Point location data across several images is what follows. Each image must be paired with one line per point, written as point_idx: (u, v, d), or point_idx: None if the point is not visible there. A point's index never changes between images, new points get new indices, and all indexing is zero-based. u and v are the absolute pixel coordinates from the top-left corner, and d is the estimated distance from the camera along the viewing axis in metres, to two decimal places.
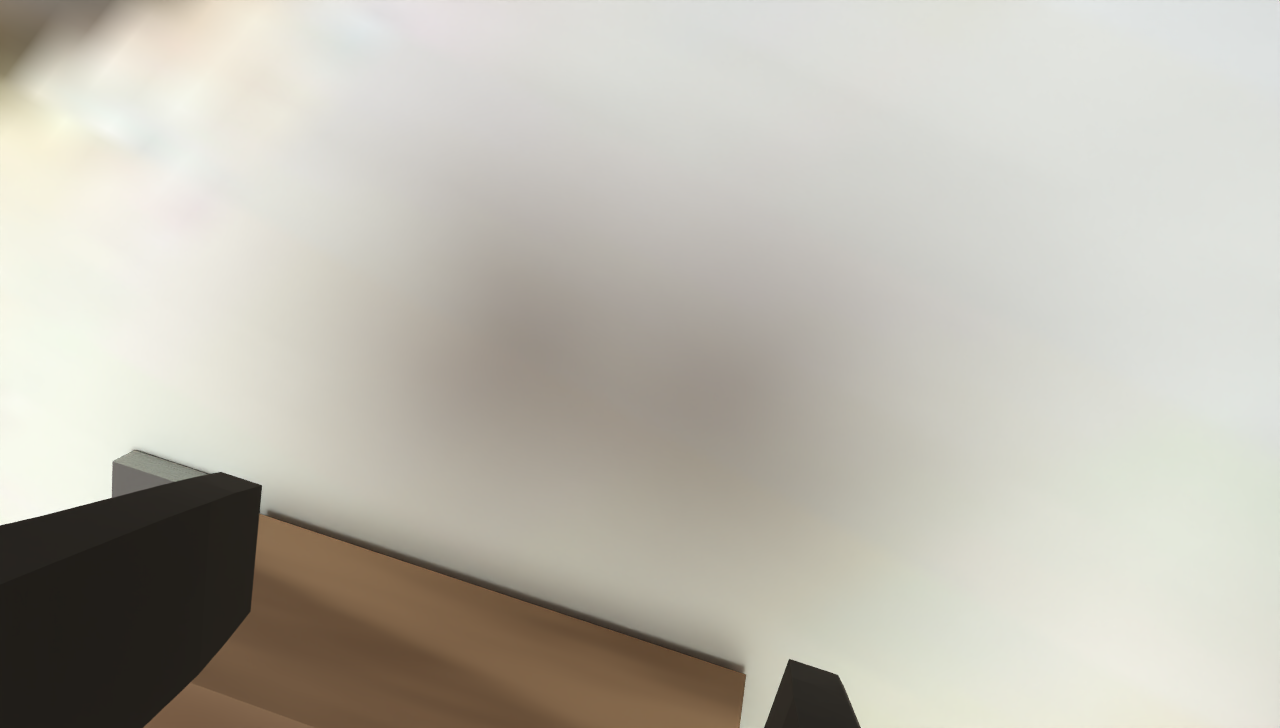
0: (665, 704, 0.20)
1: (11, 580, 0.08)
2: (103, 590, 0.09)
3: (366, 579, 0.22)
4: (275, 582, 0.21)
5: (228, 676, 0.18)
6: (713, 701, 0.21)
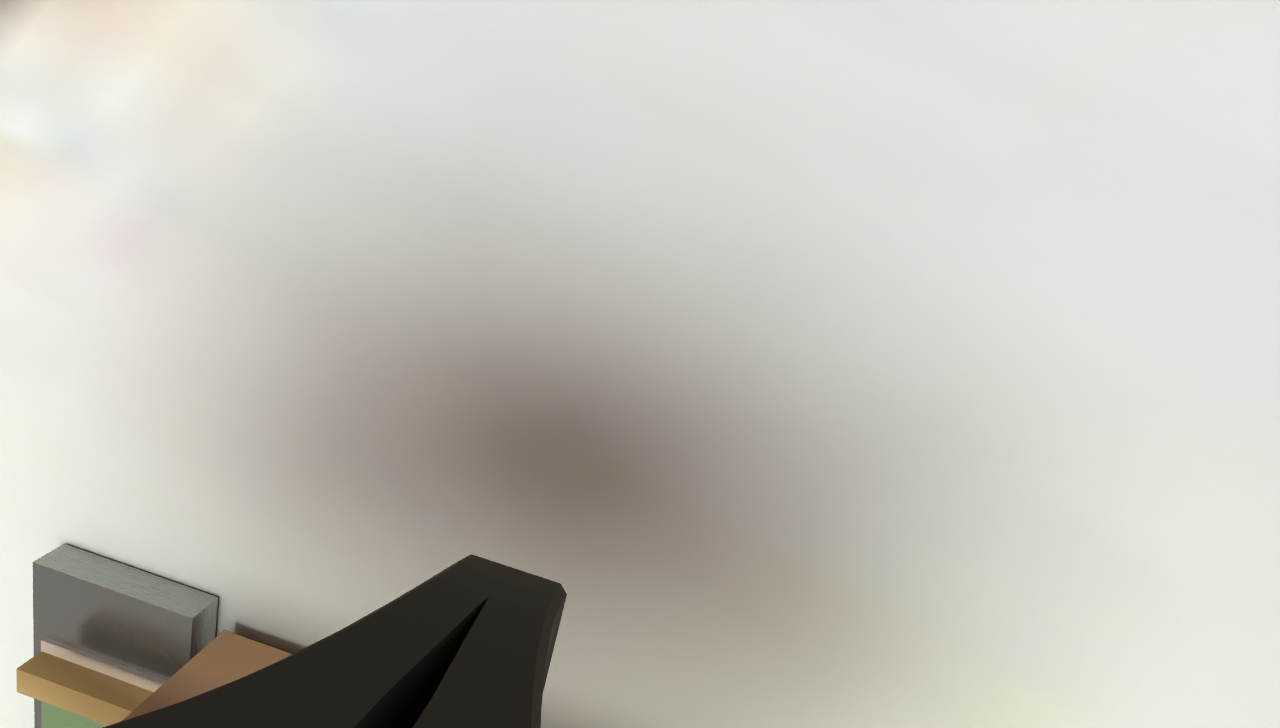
0: None
1: (369, 708, 0.07)
2: (418, 701, 0.08)
3: None
4: None
5: None
6: None
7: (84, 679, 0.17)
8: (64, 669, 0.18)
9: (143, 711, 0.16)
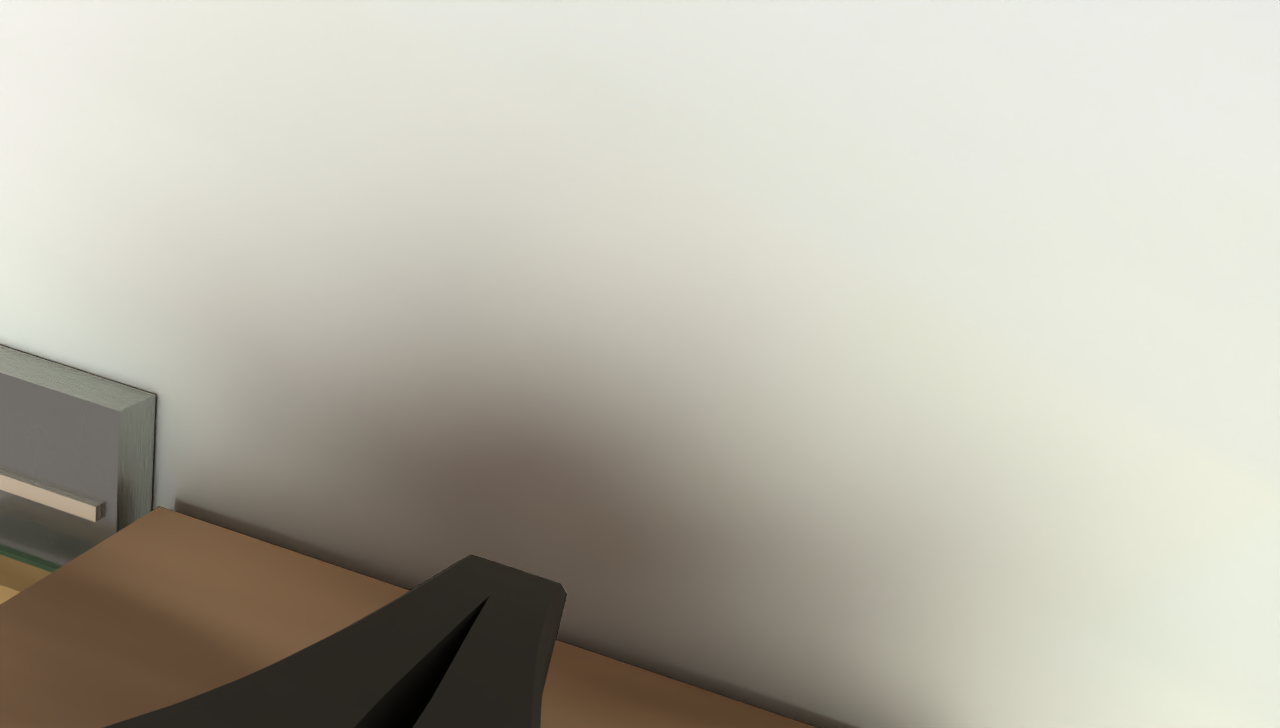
0: None
1: (369, 708, 0.07)
2: (418, 701, 0.08)
3: (326, 615, 0.13)
4: (167, 622, 0.12)
5: None
6: None
7: None
8: None
9: (44, 586, 0.12)
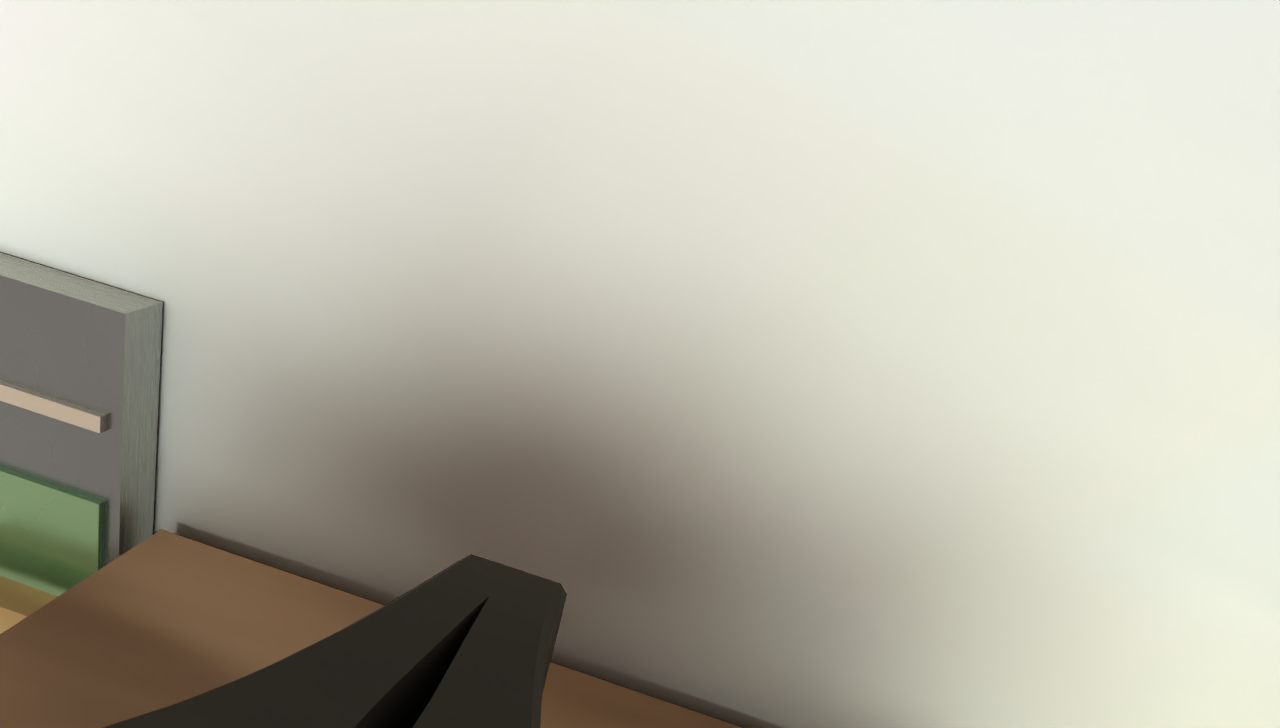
0: None
1: (369, 708, 0.07)
2: (417, 701, 0.08)
3: None
4: (169, 648, 0.12)
5: None
6: None
7: None
8: None
9: (48, 612, 0.12)
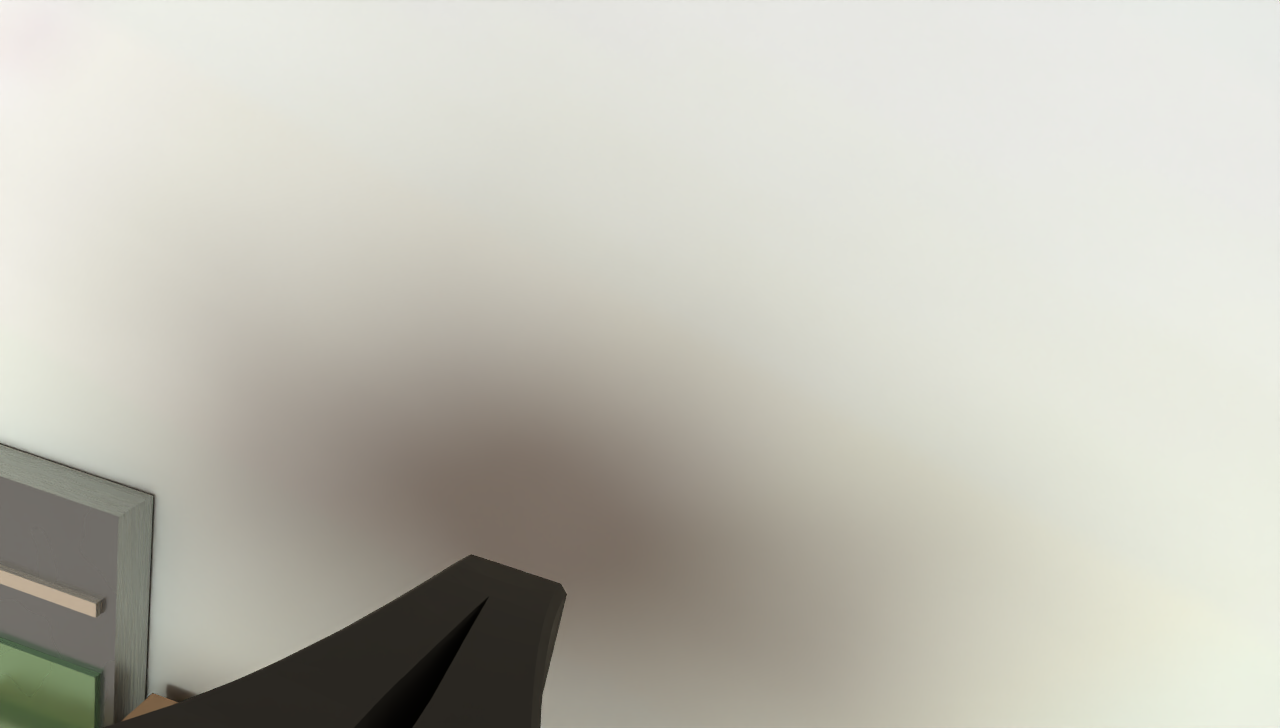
0: None
1: (369, 708, 0.07)
2: (418, 701, 0.08)
3: None
4: None
5: None
6: None
7: None
8: None
9: None
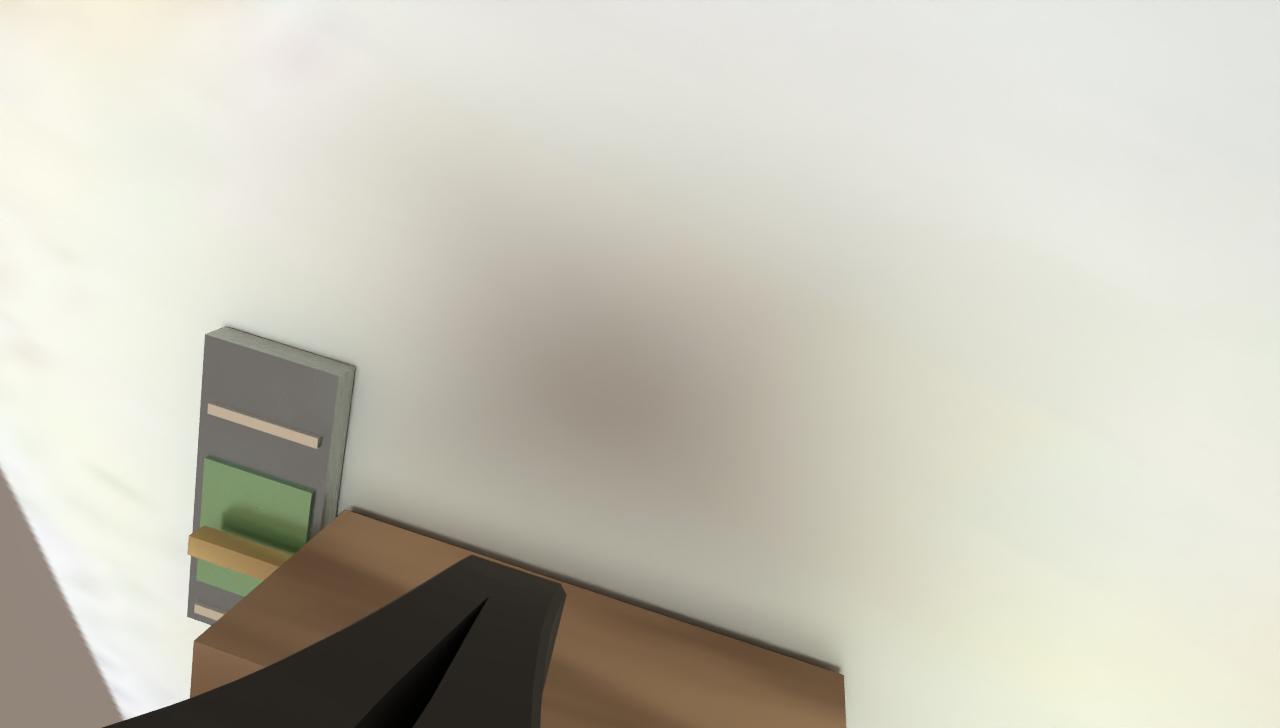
0: (770, 705, 0.20)
1: (369, 707, 0.07)
2: (418, 701, 0.08)
3: None
4: (371, 578, 0.21)
5: None
6: (816, 702, 0.20)
7: (240, 544, 0.23)
8: (224, 537, 0.23)
9: (298, 557, 0.21)
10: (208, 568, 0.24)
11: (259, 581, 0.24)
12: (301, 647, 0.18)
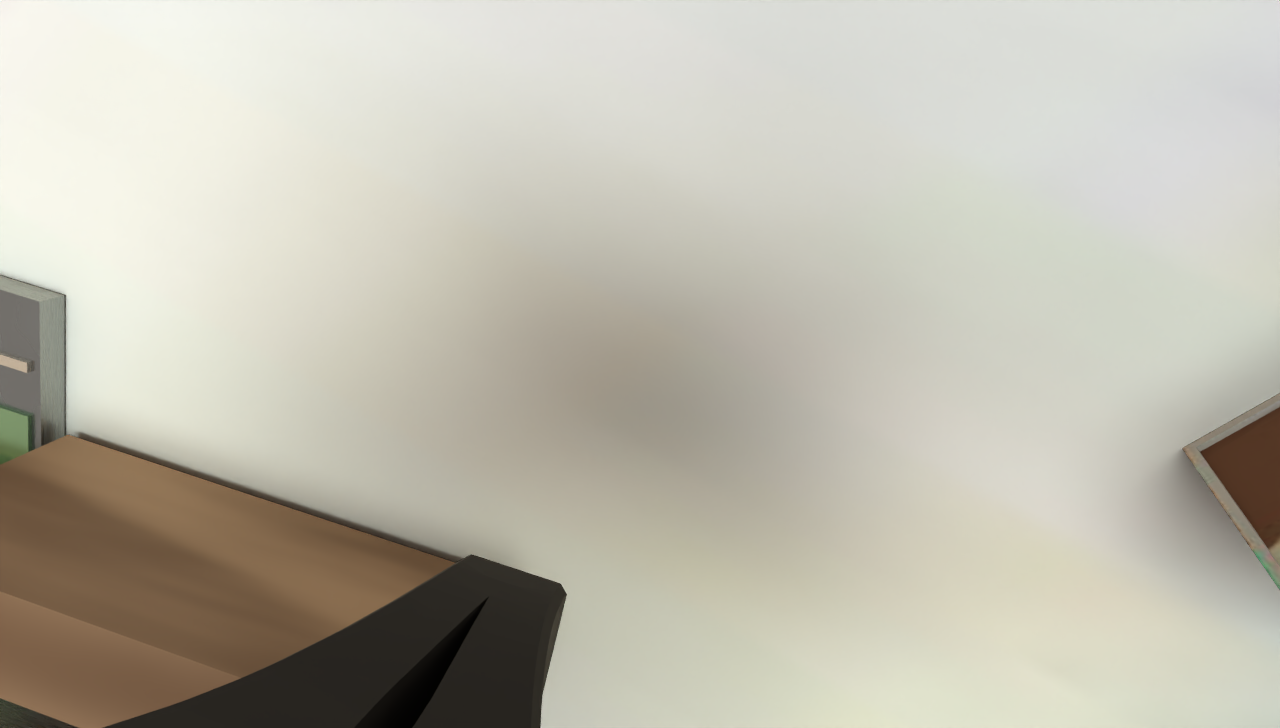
0: None
1: (369, 708, 0.07)
2: (418, 701, 0.08)
3: (157, 492, 0.23)
4: (62, 491, 0.22)
5: None
6: None
7: None
8: None
9: None
10: None
11: None
12: None
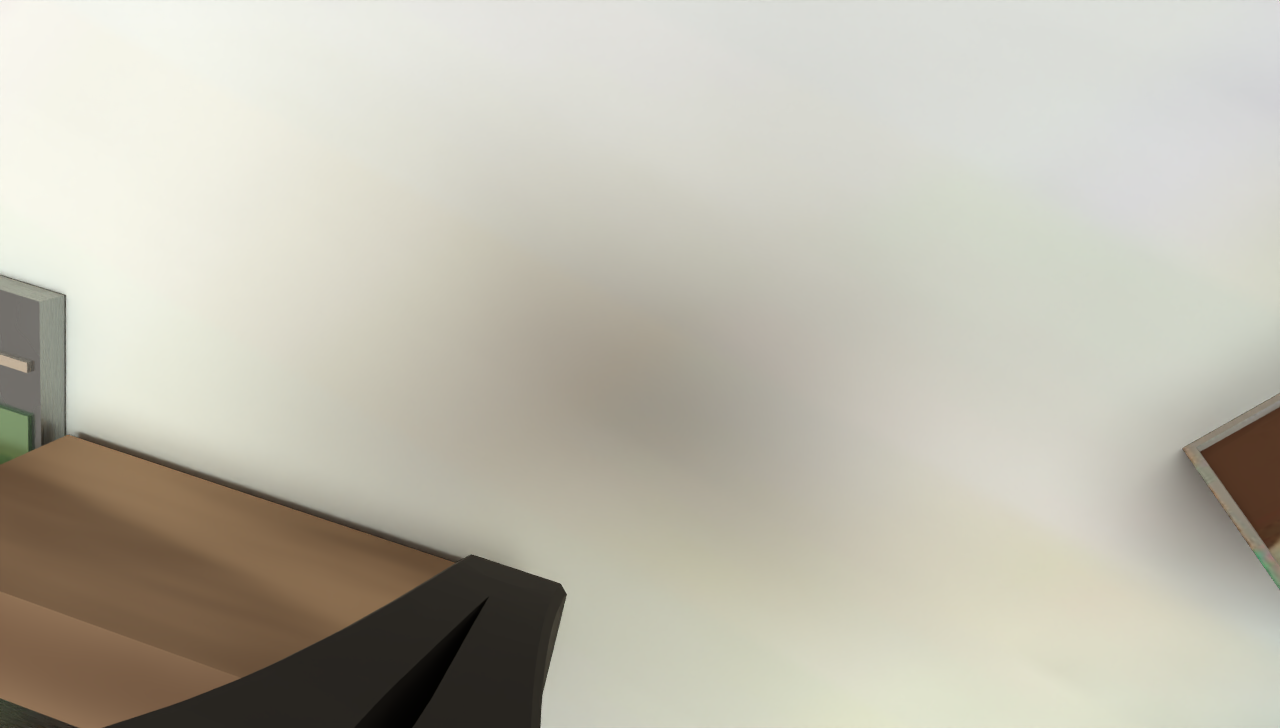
0: None
1: (369, 708, 0.07)
2: (418, 701, 0.08)
3: (157, 492, 0.23)
4: (62, 491, 0.22)
5: None
6: None
7: None
8: None
9: None
10: None
11: None
12: None
